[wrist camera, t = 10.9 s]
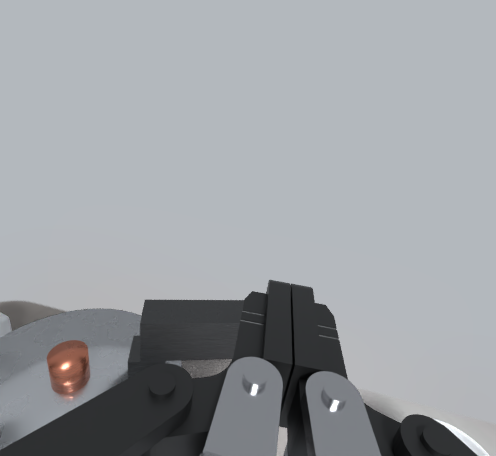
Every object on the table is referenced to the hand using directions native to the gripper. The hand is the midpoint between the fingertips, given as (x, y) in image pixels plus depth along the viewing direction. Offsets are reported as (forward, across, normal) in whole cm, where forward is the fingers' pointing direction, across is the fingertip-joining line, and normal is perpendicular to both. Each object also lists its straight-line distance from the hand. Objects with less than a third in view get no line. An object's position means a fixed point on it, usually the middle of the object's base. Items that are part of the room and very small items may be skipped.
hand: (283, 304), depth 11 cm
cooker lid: (+10, +11, +20) cm, 25 cm away
